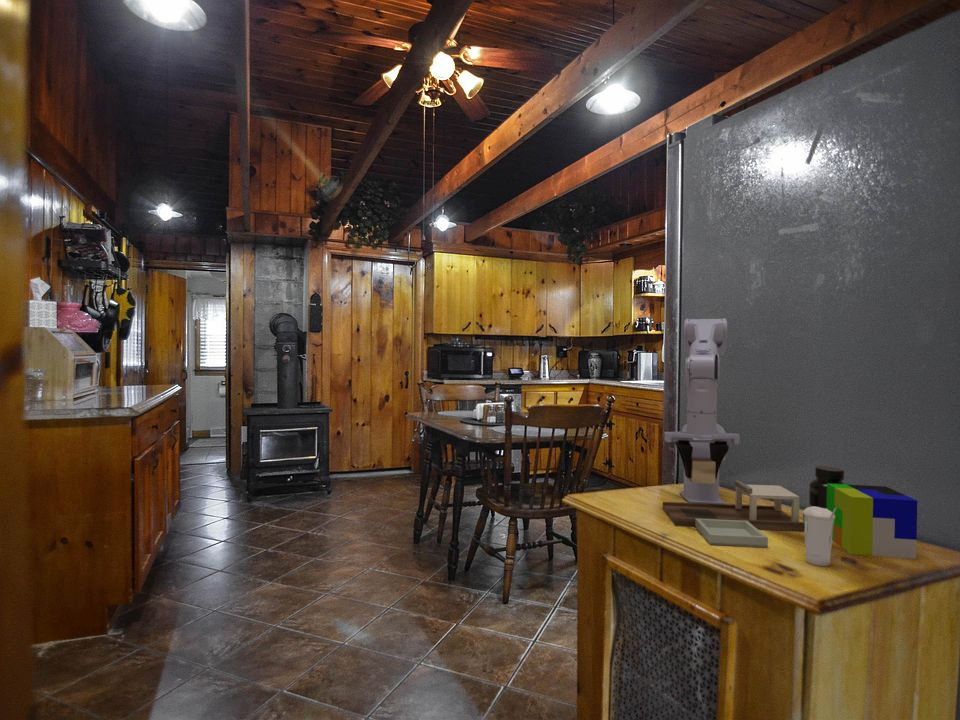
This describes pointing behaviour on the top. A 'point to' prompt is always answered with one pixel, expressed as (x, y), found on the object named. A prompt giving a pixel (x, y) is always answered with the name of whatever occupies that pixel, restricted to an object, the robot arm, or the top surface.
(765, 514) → the board
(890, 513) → the puzzle toy
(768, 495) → the cover
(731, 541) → the sage tray
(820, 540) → the milkshake
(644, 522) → the top surface
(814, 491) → the supplement bottle
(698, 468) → the maple block
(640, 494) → the top surface
